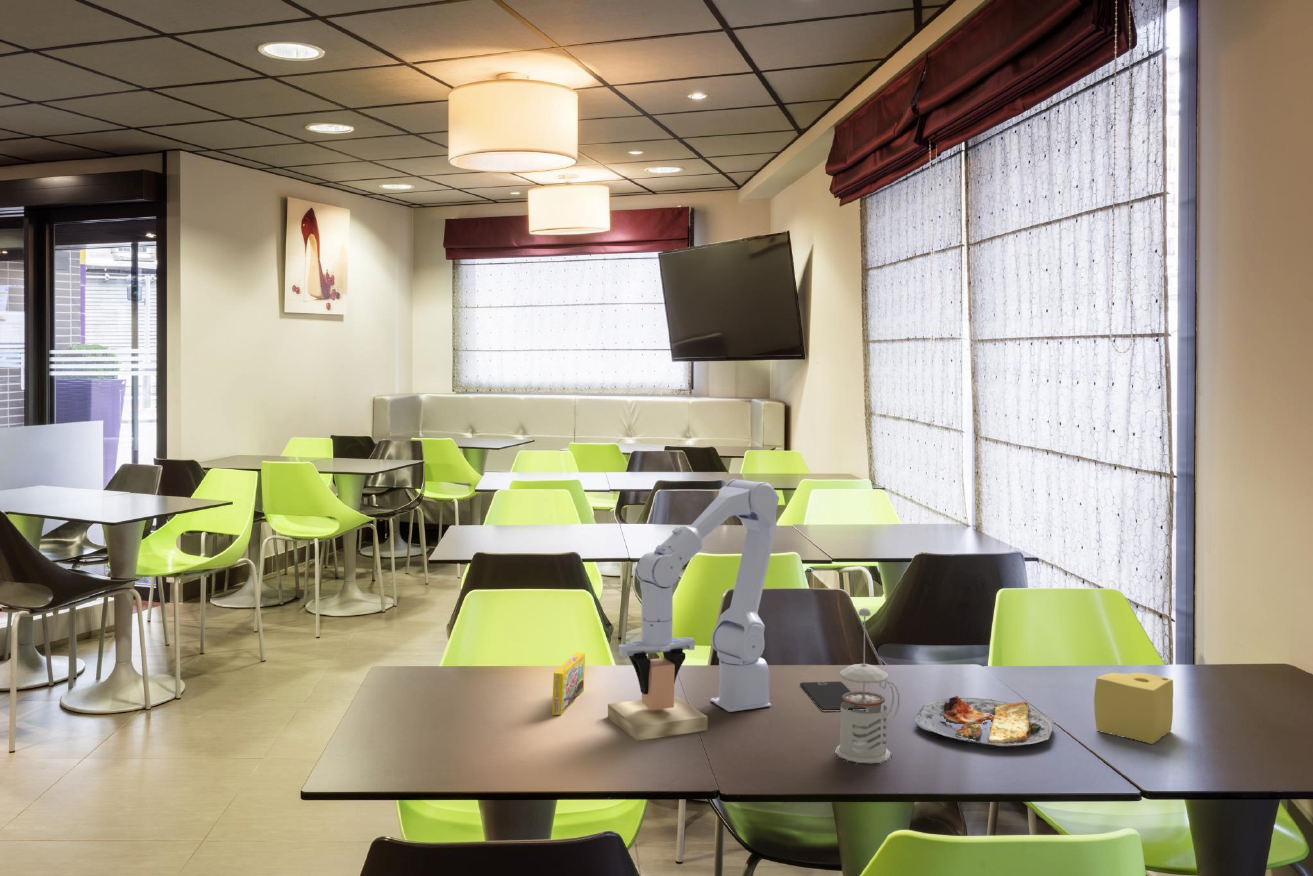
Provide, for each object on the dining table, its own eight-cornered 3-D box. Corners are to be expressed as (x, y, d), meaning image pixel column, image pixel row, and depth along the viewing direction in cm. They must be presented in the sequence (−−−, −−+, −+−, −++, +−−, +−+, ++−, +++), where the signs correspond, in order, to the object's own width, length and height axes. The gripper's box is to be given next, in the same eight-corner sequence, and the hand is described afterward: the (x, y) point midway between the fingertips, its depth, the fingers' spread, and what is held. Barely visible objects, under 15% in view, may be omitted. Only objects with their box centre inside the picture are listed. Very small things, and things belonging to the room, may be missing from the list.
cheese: (1115, 719, 192) (1116, 666, 191) (1175, 732, 184) (1177, 678, 184) (1092, 732, 184) (1093, 677, 184) (1154, 747, 177) (1156, 690, 176)
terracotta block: (663, 699, 190) (664, 657, 190) (673, 707, 186) (674, 664, 186) (641, 702, 189) (642, 660, 188) (651, 710, 185) (652, 667, 184)
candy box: (562, 716, 192) (562, 673, 192) (551, 716, 192) (551, 672, 192) (585, 691, 208) (585, 651, 207) (575, 691, 208) (575, 651, 208)
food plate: (932, 700, 202) (933, 683, 202) (1057, 719, 192) (1058, 700, 192) (905, 743, 180) (905, 724, 179) (1045, 767, 169) (1045, 746, 169)
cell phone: (840, 685, 214) (840, 681, 214) (867, 712, 196) (867, 707, 196) (799, 686, 213) (799, 682, 213) (822, 714, 195) (822, 709, 195)
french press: (822, 747, 175) (824, 604, 174) (879, 739, 180) (881, 599, 179) (854, 767, 166) (855, 616, 165) (913, 758, 171) (915, 611, 169)
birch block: (675, 710, 197) (675, 695, 197) (707, 732, 184) (707, 716, 184) (607, 719, 192) (607, 704, 191) (636, 743, 179) (636, 726, 179)
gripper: (628, 626, 180) (628, 702, 181) (701, 619, 186) (701, 692, 187) (614, 618, 187) (614, 691, 188) (685, 611, 193) (685, 682, 193)
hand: (656, 691), depth 188 cm, fingers closed on terracotta block, 4 cm apart
